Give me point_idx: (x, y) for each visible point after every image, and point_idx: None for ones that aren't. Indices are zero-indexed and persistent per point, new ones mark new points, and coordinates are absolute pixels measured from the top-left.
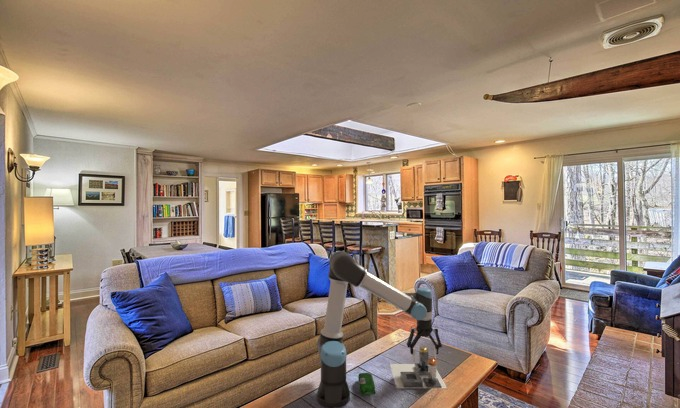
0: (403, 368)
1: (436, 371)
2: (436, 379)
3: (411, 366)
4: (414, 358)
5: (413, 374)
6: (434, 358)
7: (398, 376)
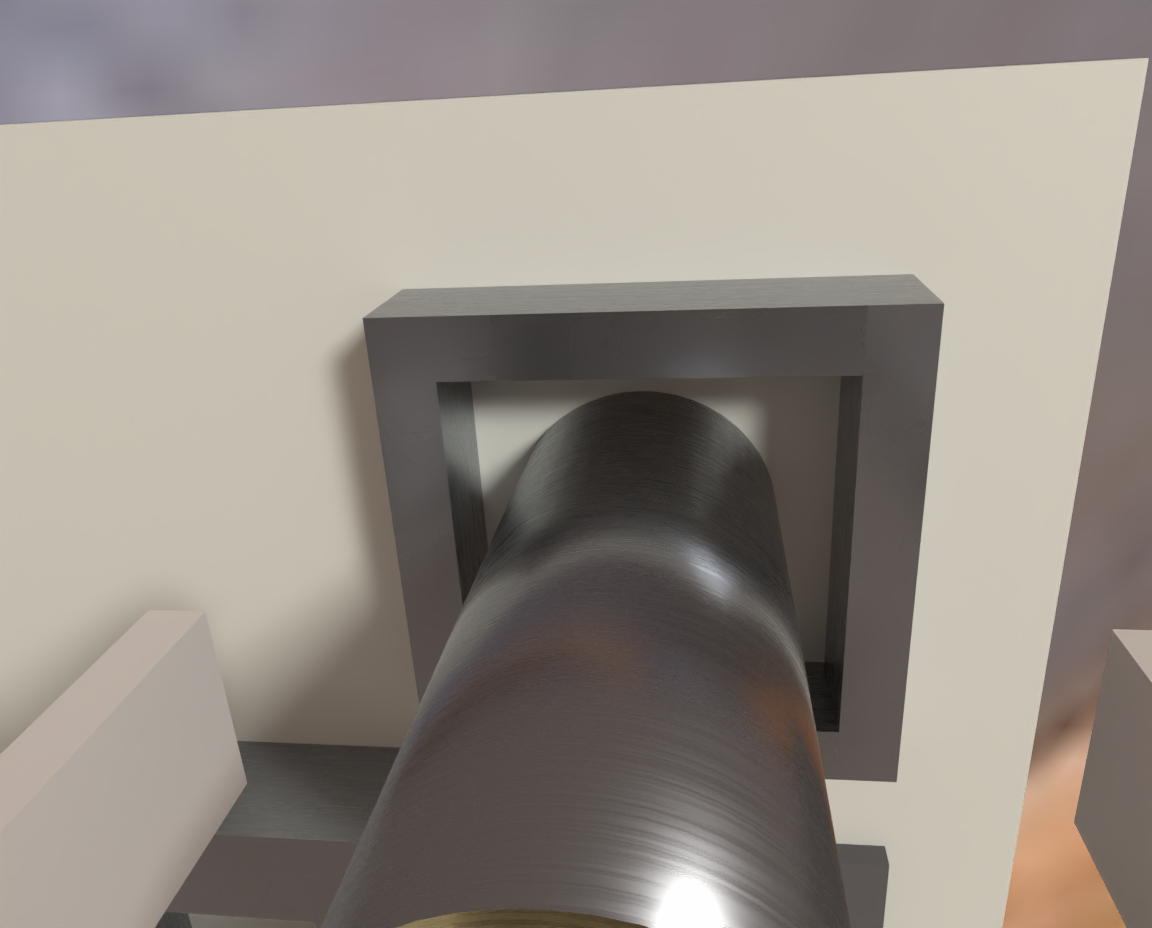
0: (85, 394)
1: (1024, 537)
2: (850, 907)
3: (310, 275)
4: (175, 874)
5: (283, 911)
6: (1126, 840)
7: (7, 719)
